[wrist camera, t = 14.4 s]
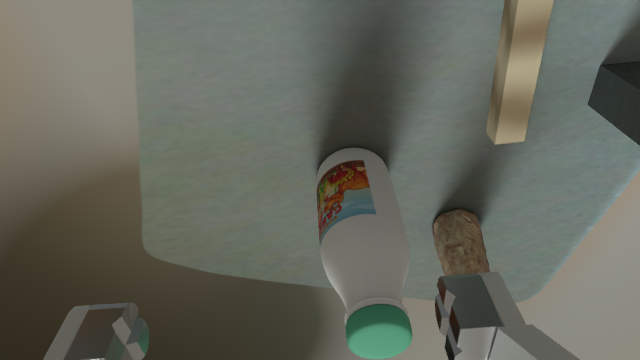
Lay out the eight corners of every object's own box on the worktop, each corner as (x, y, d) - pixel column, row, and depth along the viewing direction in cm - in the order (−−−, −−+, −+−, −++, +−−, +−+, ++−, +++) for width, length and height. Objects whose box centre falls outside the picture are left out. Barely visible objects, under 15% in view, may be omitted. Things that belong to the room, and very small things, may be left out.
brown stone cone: (451, 196, 48) (417, 229, 51) (486, 326, 33) (435, 362, 36) (493, 221, 49) (457, 252, 52) (545, 358, 34) (491, 390, 37)
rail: (522, -139, 29) (541, -141, 27) (562, -145, 29) (584, -146, 27) (484, 130, 42) (494, 144, 40) (512, 127, 42) (524, 141, 40)
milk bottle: (389, 142, 42) (443, 304, 26) (385, 201, 47) (430, 370, 31) (313, 147, 42) (322, 312, 26) (317, 205, 47) (326, 376, 31)
